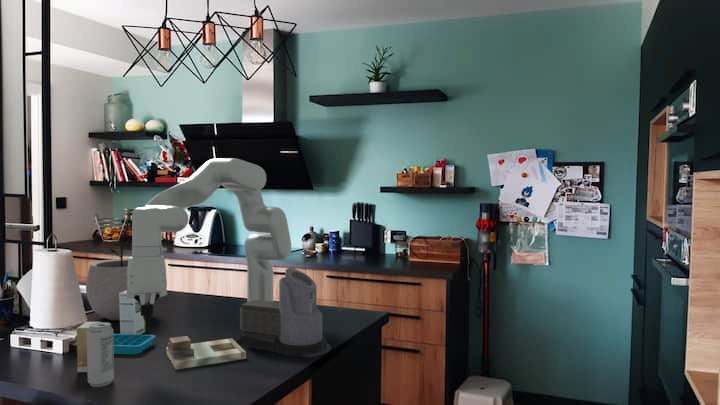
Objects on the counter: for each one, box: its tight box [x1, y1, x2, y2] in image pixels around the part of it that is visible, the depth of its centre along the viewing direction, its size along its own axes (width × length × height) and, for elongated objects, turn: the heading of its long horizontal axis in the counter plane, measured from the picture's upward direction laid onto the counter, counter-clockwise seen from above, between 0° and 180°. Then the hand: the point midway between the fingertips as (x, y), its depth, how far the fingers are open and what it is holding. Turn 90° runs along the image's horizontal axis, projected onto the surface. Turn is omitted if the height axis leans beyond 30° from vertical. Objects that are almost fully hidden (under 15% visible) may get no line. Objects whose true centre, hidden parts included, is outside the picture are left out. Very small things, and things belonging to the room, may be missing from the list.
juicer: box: [235, 267, 332, 358], centre depth 170 cm, size 30×16×24 cm, turn 69°
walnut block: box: [168, 335, 192, 357], centre depth 157 cm, size 5×5×4 cm
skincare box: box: [76, 321, 100, 373], centre depth 149 cm, size 6×4×12 cm
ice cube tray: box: [75, 333, 157, 355], centre depth 167 cm, size 12×20×3 cm, turn 86°
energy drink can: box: [87, 321, 115, 388], centre depth 138 cm, size 6×6×15 cm
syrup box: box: [119, 291, 146, 335], centre depth 182 cm, size 6×6×14 cm
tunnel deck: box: [166, 337, 247, 370], centre depth 160 cm, size 20×15×4 cm
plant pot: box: [85, 236, 150, 321], centre depth 201 cm, size 24×24×30 cm
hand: (146, 317), depth 152 cm, fingers closed
